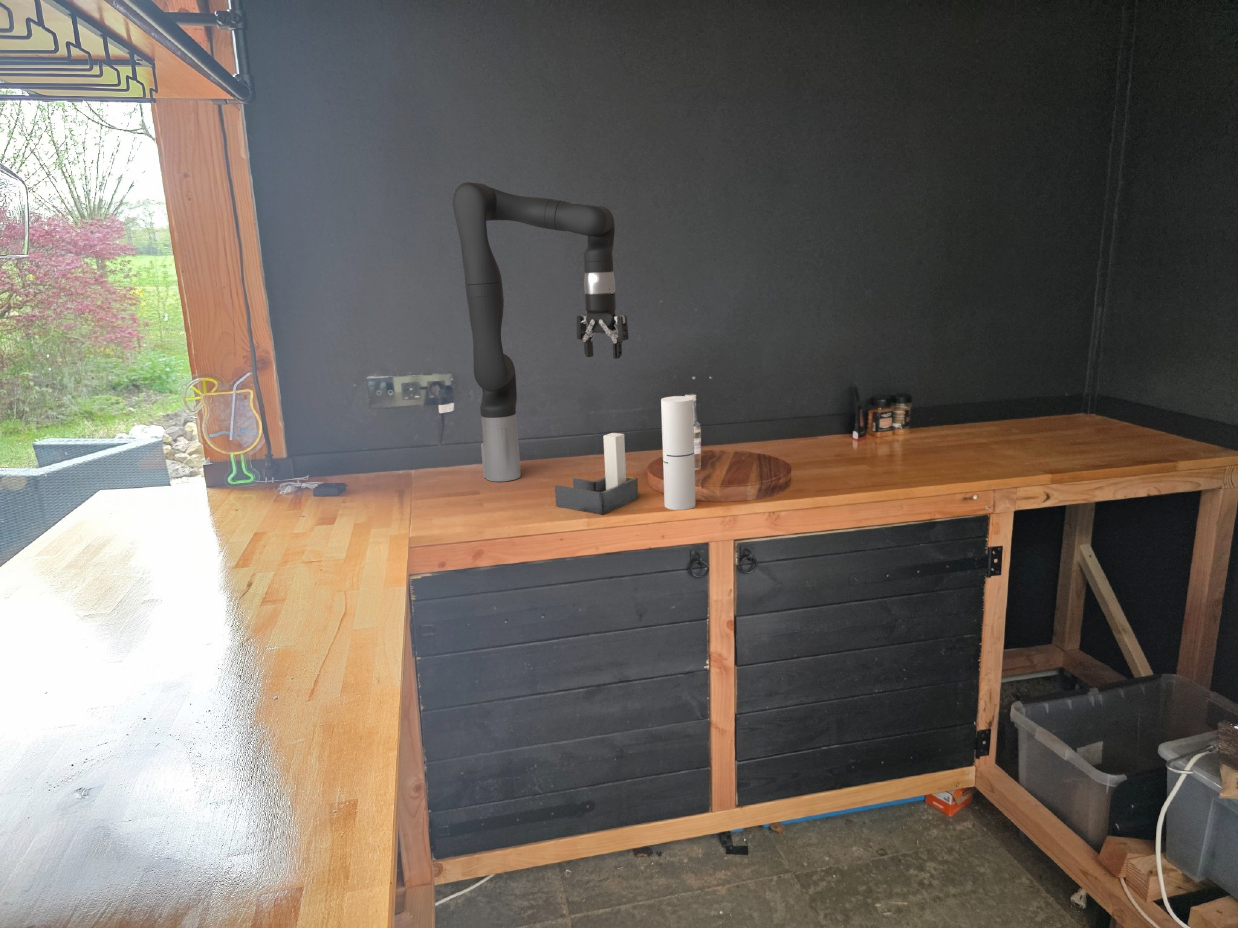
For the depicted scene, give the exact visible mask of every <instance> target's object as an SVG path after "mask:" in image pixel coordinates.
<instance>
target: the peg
mask: <svg viewBox="0 0 1238 928" xmlns="http://www.w3.org/2000/svg"><path fill="white" fill-rule="evenodd" d="M625 445H626V444H625V433H619V432H611V433H608V434H605V435H603V454H604V455H603V456H604V472H605V473H604V478H605V477H606V490H608V489H610V488H613V487H615V486H617V485H620V484H622V483H624V482H626V477H627V468H626V467H627V466H626V450H625V449H626V446H625Z"/></svg>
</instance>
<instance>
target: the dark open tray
mask: <svg viewBox="0 0 1238 928" xmlns="http://www.w3.org/2000/svg"><path fill="white" fill-rule="evenodd" d="M638 480H639V479H638V477H631V476H626V482H624V483H622V484H620V485H617V486H615V487H613V488H610V489H608V490H606V477H605V476H604V477H603V478H600V479H598V480H589V479H582V478H576V477H574V478H572V484H573V485H572V486H573V487H570V486H564V485H558V484H557V485H554V496H555V506H556V507H557V506H560V507H559V508H563V509H568V510H573V509H574V511H578V512H579V511H580V512H585V513H591V514H596V515H600V516H601V515H602V516H604V515H605V514H606V515H607V514H608V513H610V512H612V511H614V510H616V509H619V508H621V507H623V506H625V505H627V504H629V503H631V502H634V501H636V500H639V497H640V496H639V481H638Z"/></svg>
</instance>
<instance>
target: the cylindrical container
mask: <svg viewBox="0 0 1238 928" xmlns="http://www.w3.org/2000/svg"><path fill="white" fill-rule="evenodd" d="M660 406H661V412H660V413H661V436H662V437H661V438H662V441H661V442H662V460H663V461H662V462H663V463H662V465H663V466H662V467H663V495H664V497H663V499H664V501H663V502H664V508H665V509H668V510H672V511H673V510H674V511H684V510H685V511H686V510H690V509H693V508H695V507H696V477H695V476H696V475H695V473H696V472H695V468H696V466H695V435H694V434H695V432H694V398H693V397H691V396H686V395H683V396H682V395H673V396H667V397H662V398H661V399H660Z"/></svg>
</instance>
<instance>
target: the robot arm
mask: <svg viewBox="0 0 1238 928" xmlns="http://www.w3.org/2000/svg"><path fill="white" fill-rule="evenodd" d="M452 208H453V214H454V218H455V222H456V227H457V228H456V229H457V232H458V236H459V241H460V249H461V257H462V258H461V259H462V265H463V273H464V275H463V276H464V284H465V286H464V287H465V293H466V301H467V308H468V314H469V321H470V329H471V334H472V343H473V344H472V345H473V346H472V347H473V376H474V379H475V381H476V383H477V385H478V386H479V387H480V388H481V389H482V391H481V392H482V397H481V398H482V399H481V404H480V409H479V410H480V420H481V421H480V422H481V431H482V442H481V443H480V449H481V450H480V451H481V460H482V461H481V462H482V473H483V479H486V480H488V481H489V482H490V481H491V482H499V483H500V482H508V481H514V480H517V479H519V478H521V477H522V473H521V458H520V448H519V446H520V445H519V435H518V422H517V409H516V408H517V402H518V400H517V399H518V398H517V397H518V396H517V395H518V394H517V393H518V391H517V375H516V368H515V365H514V362H513V360H512V359H511V357H510V356H508V355H507V354H506V353H504V349H503V343H502V324H503V316H504V303H505V302H504V301H505V299H504V289H503V280H502V275H501V271H500V267H499V265H498V262H497V260H496V257H495V256H494V253H493V251H492V249H491V246H490V243H489V235H488V229H487V222H488V221H509V222H510V221H511V222H517V223H521V224H522V223H523V224H524V225H525V224H526V225H529V226H533V227H537V228H541V229H547V230H551V231H557V232H558V231H559V232H570V233H573V234H577V235H581V236H587V248H586V249H585V251H584V253H583V263H584V264H583V267H584V280H583V286H584V303H585V306H584V307H585V311H586V313H587V314H579V315H576V338H577V340H581V341H582V342H583V346H584V347H583V348H584V349H583V350H584V355H585V357H586V358H591V357H594V343H593V341H592V340H593V339H594V337H595V335H597V334H606V335H607V336H608V337H609V338H610V339H611V342H613V343H612V357H613V359H614V360H617V359H620V358H621V356H622V354H623V349H622V343H623V342H624V341H628V340H629V330H628V329H629V328H628V327H629V326H628V317H627V315H619V316H618V315H617V314H616V309H617V299H616V298H617V297H616V280H615V274H614V273H615V271H614V257H613V250H614V249H613V248H614V242H615V229H616V228H615V226H616V225H615V219H614V215H613V213H612V212H611V210H610V209H609V208H607V207H606V206H605V207H604V206H602V205H601V206H599V205H590V204H582V203H572V202H570V201H565V200H561V199H560V200H559V199H552V198H546V197H545V198H544V197H537V196H536V197H535V196H534V197H533V196H522V195H517V194H512V193H507V192H505V191H502V190H499V189H496V188H493V187H490V186H488V185H486V184H484V183H479V182H470V181H469V182H463V183H461V184H459V185H458V186H457V187H456V188H455V190H454V192H453V197H452ZM587 324H588V326H587ZM616 325H617V326H616Z"/></svg>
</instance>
